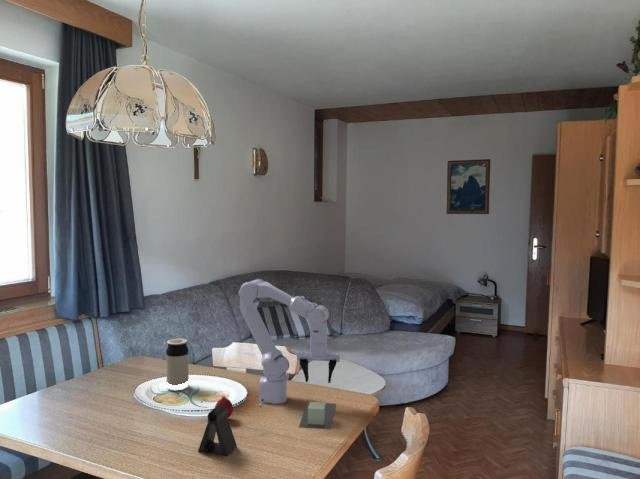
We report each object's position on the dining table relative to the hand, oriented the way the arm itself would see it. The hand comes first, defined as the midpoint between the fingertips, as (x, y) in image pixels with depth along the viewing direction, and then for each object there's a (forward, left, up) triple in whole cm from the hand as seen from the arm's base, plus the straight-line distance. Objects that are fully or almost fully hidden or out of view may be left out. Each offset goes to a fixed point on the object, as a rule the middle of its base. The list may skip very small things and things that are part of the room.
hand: (318, 381), depth 168 cm
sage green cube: (+1, -13, -8) cm, 15 cm away
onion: (-29, -13, -10) cm, 33 cm away
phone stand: (-25, -32, -10) cm, 42 cm away
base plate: (+1, -8, -9) cm, 12 cm away
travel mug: (-55, +13, -10) cm, 57 cm away
